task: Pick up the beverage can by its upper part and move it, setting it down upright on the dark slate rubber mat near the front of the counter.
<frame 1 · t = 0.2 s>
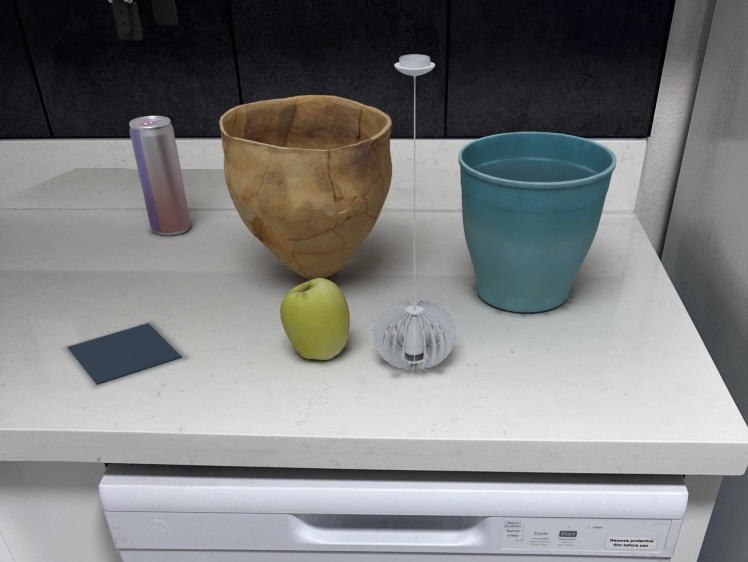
hand: (149, 31, 103), 25 cm above the counter, tool pointing down, fingers open, 9 cm apart
apple: (318, 352, 92), on the counter
beverage can: (172, 230, 119), on the counter
pendant light: (414, 360, 90), on the counter
flower pot: (522, 295, 102), on the counter
bowl: (317, 279, 106), on the counter
mat: (124, 352, 92), on the counter
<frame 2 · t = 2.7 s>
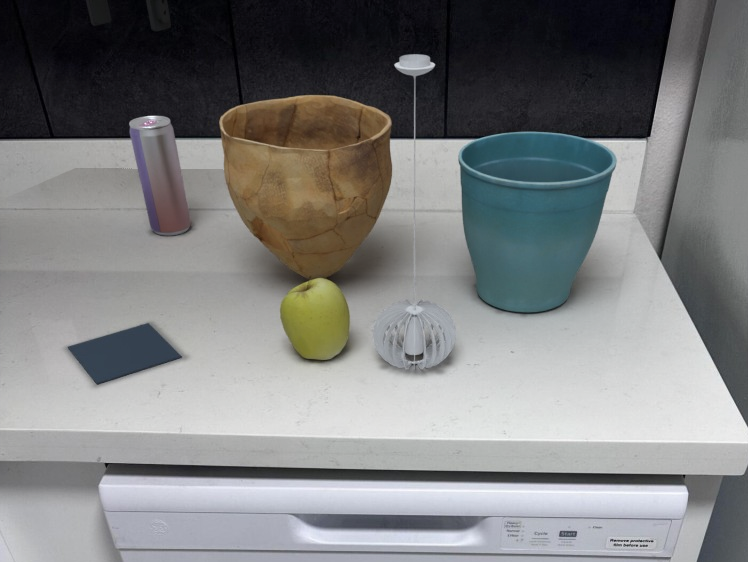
hand: (131, 26, 102), 26 cm above the counter, tool pointing down, fingers open, 9 cm apart
nothing on the counter moved.
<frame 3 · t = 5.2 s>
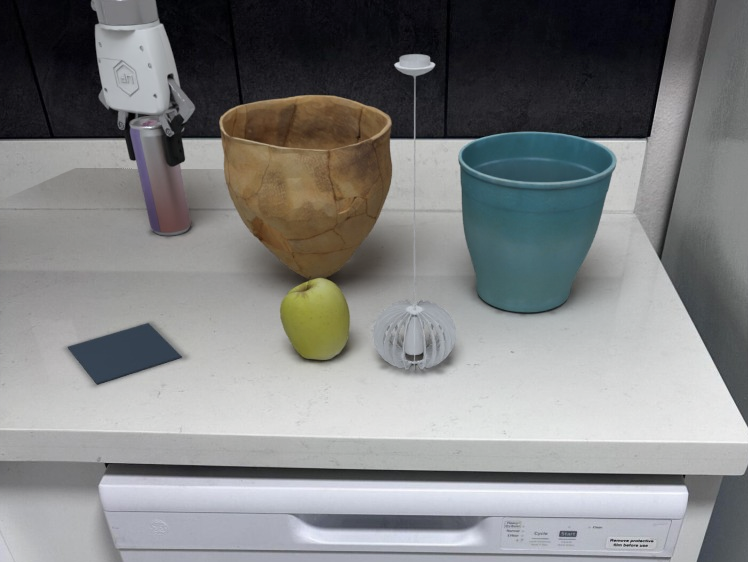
hand: (157, 159, 113), 10 cm above the counter, tool pointing down, fingers closed on beverage can, 6 cm apart
beverage can: (172, 230, 119), on the counter, touching gripper
everything else where it was.
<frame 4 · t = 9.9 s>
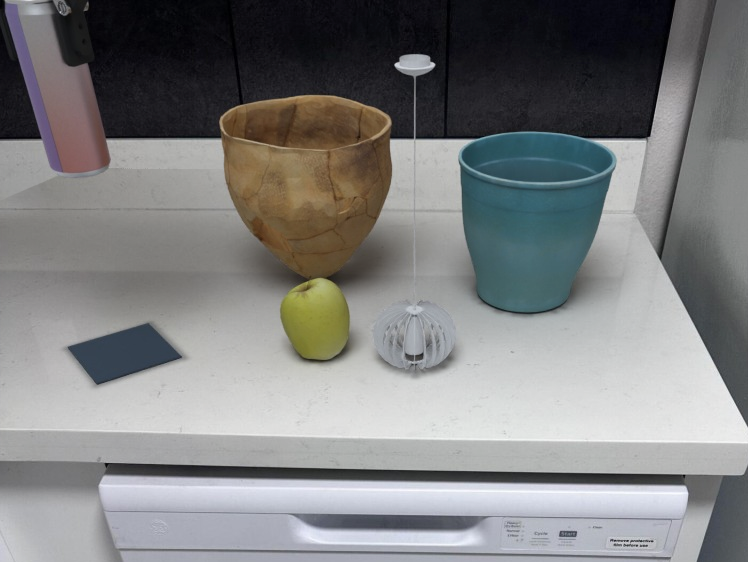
hand: (52, 58, 74), 29 cm above the counter, tool pointing down, fingers closed on beverage can, 6 cm apart
beverage can: (83, 171, 81), point 19 cm above the counter, touching gripper
everything else where it was.
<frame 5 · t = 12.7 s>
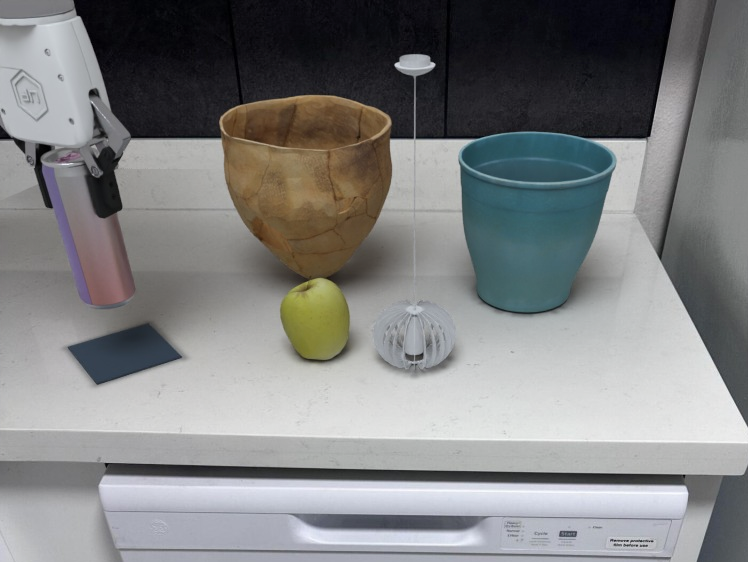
hand: (84, 207, 80), 17 cm above the counter, tool pointing down, fingers closed on beverage can, 6 cm apart
beverage can: (110, 300, 87), point 6 cm above the counter, touching gripper
everything else where it was.
when the fingers open (10 cm above the counter, at t = 14.7 s): beverage can stays where it is, resting on mat.
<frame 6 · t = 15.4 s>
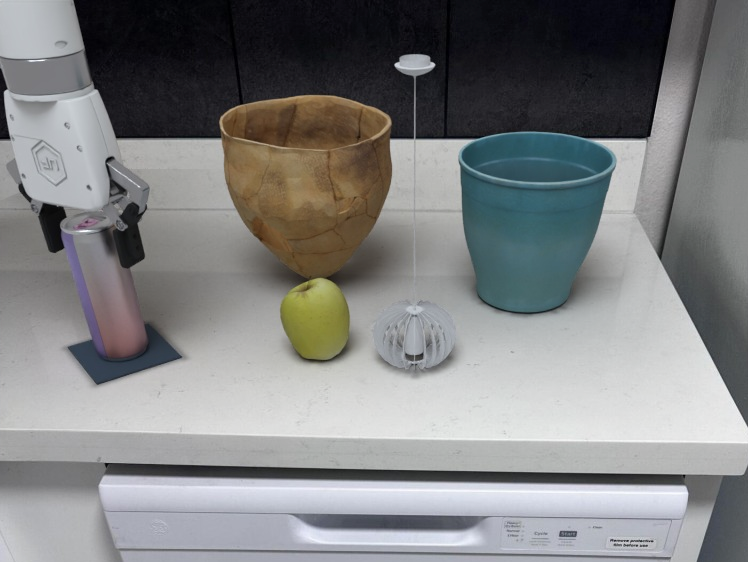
hand: (97, 255, 84), 12 cm above the counter, tool pointing down, fingers open, 9 cm apart
beverage can: (123, 352, 92), resting on mat
everything else where it was.
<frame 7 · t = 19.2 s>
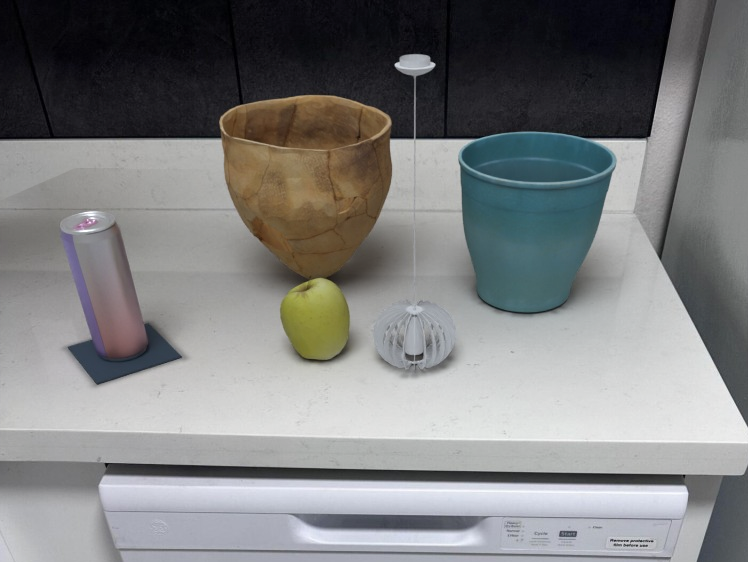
nothing on the counter moved.
at the end: beverage can 0.1 cm off-centre on the mat, point 0.0 cm above the mat's base; beverage can tilted 0° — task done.
